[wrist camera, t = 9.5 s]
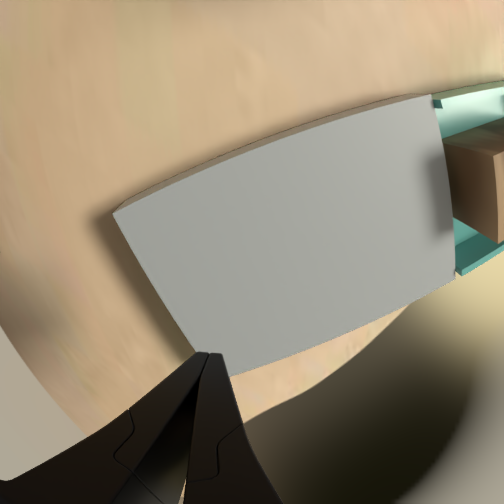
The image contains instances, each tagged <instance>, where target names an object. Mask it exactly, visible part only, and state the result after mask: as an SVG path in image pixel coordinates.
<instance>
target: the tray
mask: <svg viewBox="0 0 504 504" xmlns="http://www.w3.org/2000/svg"><path fill="white" fill-rule="evenodd" d="M431 96H432V100H433V104H434V108H435V112H436V116H437V120H438V124H439V129H440V134H441V138H442V139H443V138H446V137H449V136H452V135H454V134H457V133H460V132H463V131H466V130H468V129H471V128H474V127H477V126H480V125H483V124H486V123H489V122H492V121H495V120H498V119H501V118H504V81H497V82H491V83H485V84H479V85H473V86H468V87H463V88H458V89H453V90H448V91H443V92H439V93H434V94H431ZM453 226H454V243H455V271H456V272H457V273H458V274H460V275H461V276H463V275H465V274H466V273H468V272H470V271H472V270H473V269H475V268H477V267H478V266H480V265H482V264H483V263H485V262H486V261H488V260H490V259H491V258H493V257H494V256H496V255H497V254H499V253H501V252H502V251H503V250H504V240H503V241H502V242H500V243H499V244H497V243H496V242H494V241H492V240H491V239H489V238H488V237H486V236H484V235H483V234H481V233H479V232H478V231H476V230H474V229H473V228H471V227H469V226H467V225H466V224H464V223H462V222H460V221H459V220H457V219H455V218H453Z"/></svg>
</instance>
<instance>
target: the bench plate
mask: <svg viewBox="0 0 504 504" xmlns="http://www.w3.org/2000/svg"><path fill="white" fill-rule="evenodd" d="M112 214H113V216H114V218H115V220H116V222H117V224H118V226H119V228H120V229H121V231H122V233H123V235H124V237H125V239H126V240H127V242H128V244H129V246H130V248H131V249H132V251H133V253H134V255H135V256H136V258H137V260H138V261H139V263H140V265H141V267H142V268H143V270H144V272H145V273H146V275H147V277H148V278H149V280H150V282H151V283H152V285H153V287H154V288H155V290H156V292H157V293H158V295H159V296H160V298H161V300H162V301H163V303H164V304H165V306H166V308H167V309H168V311H169V312H170V314H171V315H172V317H173V318H174V320H175V321H176V323H177V325H178V326H179V328H180V329H181V331H182V332H183V334H184V335H185V337H186V338H187V339H188V341H189V342H190V344H191V345H192V347H193V348H194V350H195V351H196V352H198V351H200V352H208V353H209V354H210V353H212V352H213V353H222V354H223V357H224V361H225V364H226V368H227V371H228V375H229V377H231V376H234V375H237V374H240V373H243V372H246V371H249V370H252V369H255V368H258V367H261V366H264V365H267V364H270V363H272V362H275V361H278V360H281V359H283V358H286V357H289V356H291V355H294V354H297V353H299V352H302V351H304V350H307V349H310V348H312V347H315V346H317V345H320V344H322V343H324V342H327V341H329V340H332V339H334V338H336V337H339V336H341V335H343V334H346V333H348V332H350V331H353V330H355V329H357V328H359V327H362V326H364V325H366V324H368V323H370V322H373V321H375V320H377V319H379V318H381V317H383V316H385V315H387V314H390V313H392V312H394V311H396V310H398V309H400V308H402V307H404V306H406V305H408V304H410V303H412V302H414V301H416V300H418V299H419V298H421V297H423V296H425V295H427V294H429V293H431V292H433V291H435V290H436V289H438V288H440V287H442V286H444V285H446V284H447V283H449V282H451V281H453V280H454V279H455V243H454V226H453V214H452V204H451V195H450V187H449V179H448V172H447V166H446V160H445V154H444V149H443V143H442V138H441V134H440V129H439V124H438V120H437V116H436V112H435V108H434V104H433V100H432V96H431V94H409V95H402V96H398V97H394V98H390V99H386V100H382V101H379V102H375V103H371V104H368V105H364V106H361V107H357V108H354V109H350V110H347V111H344V112H340V113H337V114H334V115H331V116H328V117H324V118H321V119H318V120H315V121H312V122H309V123H306V124H303V125H300V126H298V127H295V128H292V129H289V130H286V131H283V132H281V133H278V134H275V135H272V136H270V137H267V138H264V139H262V140H259V141H256V142H254V143H251V144H249V145H246V146H244V147H241V148H239V149H236V150H234V151H231V152H229V153H226V154H224V155H222V156H219V157H217V158H214V159H212V160H210V161H207V162H205V163H203V164H201V165H198V166H196V167H194V168H192V169H189V170H187V171H185V172H183V173H180V174H178V175H176V176H174V177H172V178H170V179H168V180H165V181H163V182H161V183H159V184H157V185H155V186H153V187H151V188H149V189H147V190H145V191H143V192H141V193H139V194H137V195H135V196H133V197H131V198H129V199H127V200H126V201H125V202H124V203H123V204H122V205H120V206H119V207H118V208H117V209H116V210H115V211H114V212H113V213H112Z"/></svg>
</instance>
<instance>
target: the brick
mask: <svg viewBox="0 0 504 504" xmlns="http://www.w3.org/2000/svg"><path fill="white" fill-rule="evenodd" d="M442 143H443V149H444V154H445V160H446V166H447V172H448V179H449V187H450V195H451V204H452V214H453V218H455V219H457V220H459V221H460V222H462V223H464V224H466V225H467V226H469V227H471V228H473V229H474V230H476V231H478V232H479V233H481V234H483V235H484V236H486V237H488V238H489V239H491V240H492V241H494V242H496V243H497V244H499V243H500V242H502V241H503V240H504V118H501V119H498V120H495V121H492V122H489V123H486V124H483V125H480V126H477V127H474V128H471V129H468V130H466V131H463V132H460V133H457V134H454V135H452V136H449V137H446V138H443V139H442Z"/></svg>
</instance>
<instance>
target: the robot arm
mask: <svg viewBox="0 0 504 504" xmlns="http://www.w3.org/2000/svg"><path fill="white" fill-rule="evenodd" d="M185 480H186V485H185V492H184V501H183V504H283V502H282V501H281V499H280V497H279V496H278V494H277V492H276V491H275V489H274V487H273V485H272V484H271V482H270V480H269V479H268V477H267V475H266V474H265V472H264V470H263V468H262V466H261V465H260V463H259V461H258V459H257V457H256V455H255V453H254V451H253V449H252V446H251V444H250V441H249V439H248V436H247V433H246V430H245V427H244V425H243V421H242V418H241V415H240V411H239V408H238V405H237V402H236V398H235V395H234V392H233V388H232V385H231V382H230V378H229V375H228V371H227V368H226V364H225V361H224V357H223V354H222V353H213V352H212V353H210V354H209V353H208V352H200V351H198V352H196V353H195V354H194V355H193V356H191V357H190V358H189V359H188V360H187V361H185V362H184V363H183V364H182V365H181V366H180V367H178V368H177V369H176V370H175V371H174V372H172V373H171V374H170V375H169V376H168V377H166V378H165V379H164V380H163V381H162V382H160V383H159V384H158V385H157V386H156V387H154V388H153V389H152V390H151V391H150V392H148V393H147V394H146V395H145V396H144V397H142V398H141V399H140V400H139V401H137V402H136V403H135V404H134V405H132V406H131V407H130V408H129V410H128V409H127V410H126V411H124V412H123V413H122V414H121V415H119V416H118V417H117V418H115V419H114V420H113V421H111V422H110V423H109V424H107V425H106V426H104V427H103V428H101V429H100V430H98V431H97V432H95V433H94V434H92V435H90V436H89V437H87V438H85V439H84V440H82V441H80V442H79V443H77V444H75V445H74V446H72V447H70V448H68V449H67V450H65V451H63V452H61V453H60V454H58V455H56V456H54V457H53V458H51V459H49V460H47V461H46V462H44V463H42V464H40V465H38V466H37V467H35V468H33V469H31V470H29V471H27V472H25V473H24V474H22V475H20V476H18V477H16V478H14V479H12V480H8V481H4V480H0V504H178V503H179V500H180V496H181V493H182V490H183V487H184V483H185Z"/></svg>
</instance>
